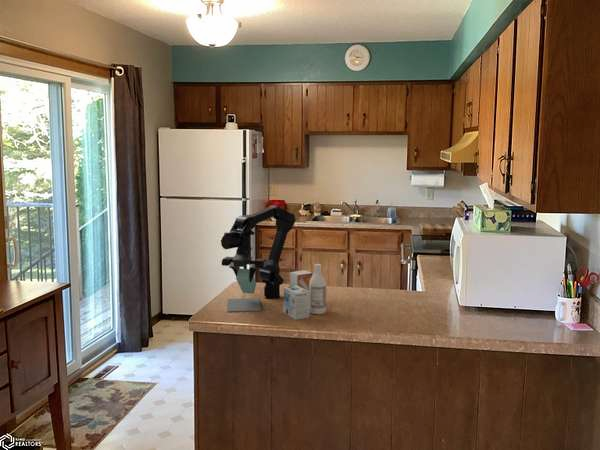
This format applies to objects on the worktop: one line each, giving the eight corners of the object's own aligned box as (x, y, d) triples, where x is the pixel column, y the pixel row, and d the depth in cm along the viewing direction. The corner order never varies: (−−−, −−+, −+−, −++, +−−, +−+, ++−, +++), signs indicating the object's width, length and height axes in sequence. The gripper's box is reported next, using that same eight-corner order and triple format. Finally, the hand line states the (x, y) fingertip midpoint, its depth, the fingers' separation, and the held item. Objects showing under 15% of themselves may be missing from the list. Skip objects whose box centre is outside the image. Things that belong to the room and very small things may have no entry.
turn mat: (259, 298, 241) (259, 298, 241) (261, 311, 224) (261, 310, 224) (227, 299, 240) (227, 298, 240) (226, 312, 222) (226, 311, 222)
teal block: (245, 282, 240) (238, 268, 231) (256, 283, 239) (249, 269, 230) (242, 292, 237) (235, 278, 228) (253, 293, 236) (247, 279, 227)
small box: (297, 304, 234) (297, 274, 232) (289, 300, 239) (289, 272, 237) (312, 301, 238) (312, 272, 236) (304, 298, 243) (304, 269, 241)
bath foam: (328, 313, 221) (329, 265, 218) (312, 315, 219) (313, 266, 216) (321, 308, 228) (322, 262, 225) (306, 310, 225) (306, 263, 222)
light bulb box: (282, 312, 222) (283, 287, 221) (297, 310, 226) (297, 285, 224) (295, 320, 213) (295, 293, 212) (310, 317, 216) (310, 291, 215)
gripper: (216, 248, 224) (217, 285, 226) (259, 250, 219) (259, 288, 222) (226, 243, 234) (226, 278, 237) (267, 245, 230) (267, 281, 232)
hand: (244, 281), depth 232 cm, fingers closed on teal block, 5 cm apart
